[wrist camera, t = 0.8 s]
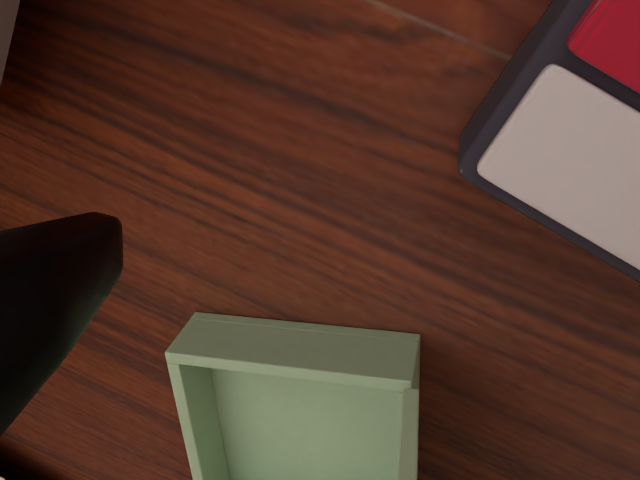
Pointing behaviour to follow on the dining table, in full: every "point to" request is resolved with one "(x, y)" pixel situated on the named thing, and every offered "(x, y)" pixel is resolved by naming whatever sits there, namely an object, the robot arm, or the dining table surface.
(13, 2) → the alarm clock
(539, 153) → the calculator
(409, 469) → the cover
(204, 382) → the case
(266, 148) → the dining table surface
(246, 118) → the dining table surface
